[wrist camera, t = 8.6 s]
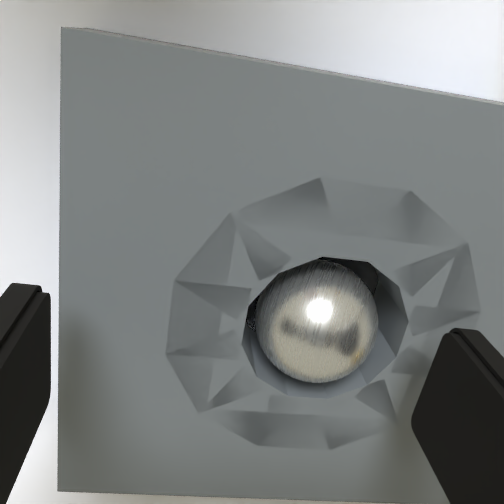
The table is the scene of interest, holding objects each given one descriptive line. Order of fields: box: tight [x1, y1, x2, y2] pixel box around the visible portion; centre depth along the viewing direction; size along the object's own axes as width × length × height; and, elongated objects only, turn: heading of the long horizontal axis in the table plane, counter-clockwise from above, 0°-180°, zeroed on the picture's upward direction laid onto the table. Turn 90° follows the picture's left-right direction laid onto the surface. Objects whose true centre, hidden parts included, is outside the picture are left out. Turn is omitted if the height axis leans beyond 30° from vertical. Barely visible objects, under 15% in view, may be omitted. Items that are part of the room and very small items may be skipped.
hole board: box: [57, 27, 504, 504], centre depth 15 cm, size 26×13×2 cm, turn 80°
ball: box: [255, 260, 378, 383], centre depth 14 cm, size 4×4×4 cm
